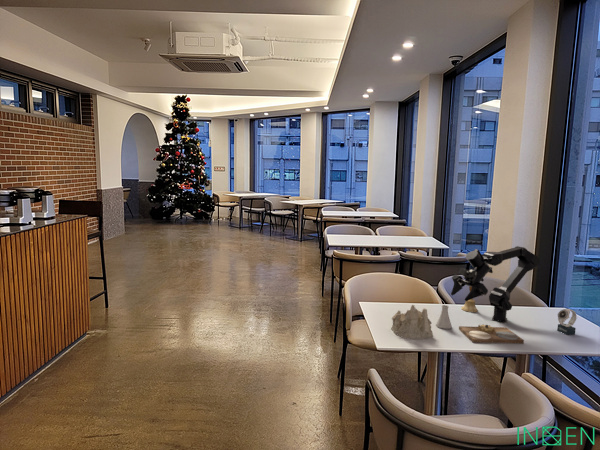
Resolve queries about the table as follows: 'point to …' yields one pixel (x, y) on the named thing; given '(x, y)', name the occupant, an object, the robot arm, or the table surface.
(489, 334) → the gear board
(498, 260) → the robot arm
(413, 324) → the ceramic cottage
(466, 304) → the hand bell
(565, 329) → the watch
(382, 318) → the table surface
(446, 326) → the flask
